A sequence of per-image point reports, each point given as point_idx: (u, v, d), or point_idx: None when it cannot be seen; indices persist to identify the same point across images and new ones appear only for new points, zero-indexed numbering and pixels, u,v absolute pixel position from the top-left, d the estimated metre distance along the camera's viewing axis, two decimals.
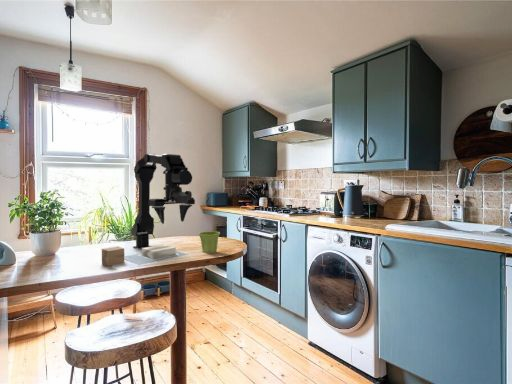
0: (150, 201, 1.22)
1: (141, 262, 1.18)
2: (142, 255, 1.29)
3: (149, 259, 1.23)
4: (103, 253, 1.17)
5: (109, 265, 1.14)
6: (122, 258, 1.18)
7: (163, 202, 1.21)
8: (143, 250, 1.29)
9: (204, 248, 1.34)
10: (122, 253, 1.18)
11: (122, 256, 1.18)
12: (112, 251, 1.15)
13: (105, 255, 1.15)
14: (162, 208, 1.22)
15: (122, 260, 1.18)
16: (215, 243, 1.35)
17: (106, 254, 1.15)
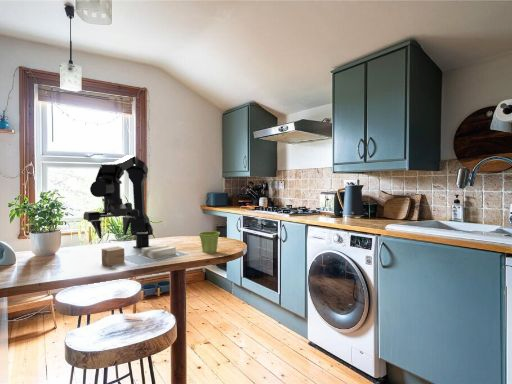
0: (85, 214, 1.12)
1: (141, 262, 1.18)
2: (142, 255, 1.29)
3: (149, 259, 1.23)
4: (103, 253, 1.17)
5: (109, 265, 1.14)
6: (122, 258, 1.18)
7: (98, 215, 1.11)
8: (143, 250, 1.29)
9: (204, 248, 1.34)
10: (122, 253, 1.18)
11: (122, 256, 1.18)
12: (112, 251, 1.15)
13: (105, 255, 1.15)
14: (98, 222, 1.12)
15: (122, 260, 1.18)
16: (215, 243, 1.35)
17: (106, 254, 1.15)
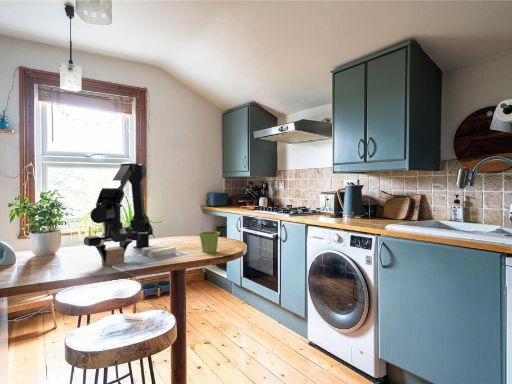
0: (85, 239, 1.12)
1: (141, 262, 1.18)
2: (142, 255, 1.29)
3: (149, 259, 1.23)
4: None
5: (109, 265, 1.14)
6: (122, 258, 1.18)
7: (99, 241, 1.12)
8: (143, 250, 1.29)
9: (204, 248, 1.34)
10: (122, 252, 1.18)
11: (122, 256, 1.18)
12: (112, 251, 1.15)
13: (105, 254, 1.15)
14: (102, 246, 1.13)
15: (122, 260, 1.18)
16: (215, 243, 1.35)
17: (106, 254, 1.15)
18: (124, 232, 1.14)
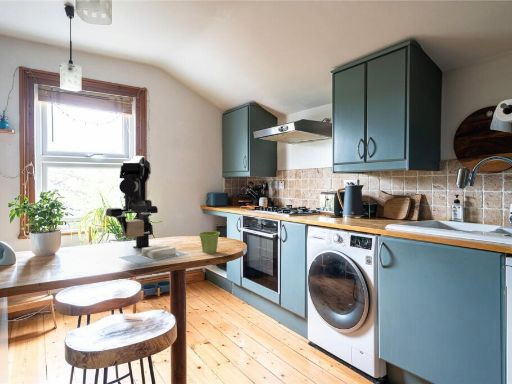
0: (107, 211, 1.17)
1: (141, 262, 1.18)
2: (142, 255, 1.29)
3: (149, 259, 1.23)
4: None
5: (130, 235, 1.19)
6: (142, 230, 1.23)
7: (120, 212, 1.17)
8: (143, 250, 1.29)
9: (204, 248, 1.34)
10: (141, 224, 1.23)
11: (142, 228, 1.23)
12: (133, 222, 1.20)
13: (126, 226, 1.20)
14: (123, 218, 1.18)
15: (142, 231, 1.23)
16: (215, 243, 1.35)
17: (127, 225, 1.20)
18: (144, 204, 1.18)
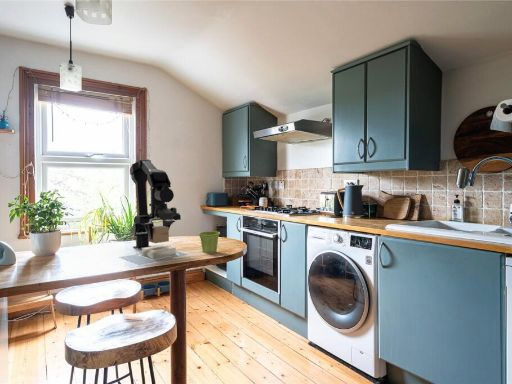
0: (135, 218, 1.24)
1: (141, 262, 1.18)
2: (142, 255, 1.29)
3: (149, 259, 1.23)
4: None
5: (156, 241, 1.26)
6: (167, 236, 1.30)
7: (148, 219, 1.23)
8: (143, 250, 1.29)
9: (204, 248, 1.34)
10: (166, 231, 1.30)
11: (167, 234, 1.30)
12: (159, 229, 1.27)
13: (153, 232, 1.27)
14: (150, 225, 1.25)
15: (167, 237, 1.30)
16: (215, 243, 1.35)
17: (153, 231, 1.27)
18: (170, 212, 1.25)
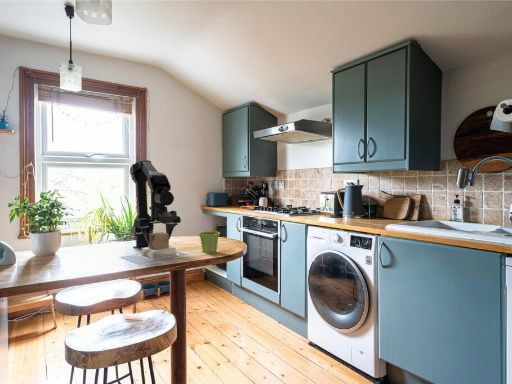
0: (135, 221, 1.24)
1: (141, 262, 1.18)
2: (142, 255, 1.29)
3: (149, 259, 1.23)
4: (150, 237, 1.29)
5: (156, 248, 1.26)
6: (167, 242, 1.30)
7: (148, 222, 1.23)
8: (143, 250, 1.29)
9: (204, 248, 1.34)
10: (166, 237, 1.30)
11: (167, 240, 1.30)
12: (159, 235, 1.27)
13: (153, 239, 1.27)
14: (147, 228, 1.24)
15: (167, 244, 1.30)
16: (215, 243, 1.35)
17: (153, 238, 1.27)
18: (170, 215, 1.25)
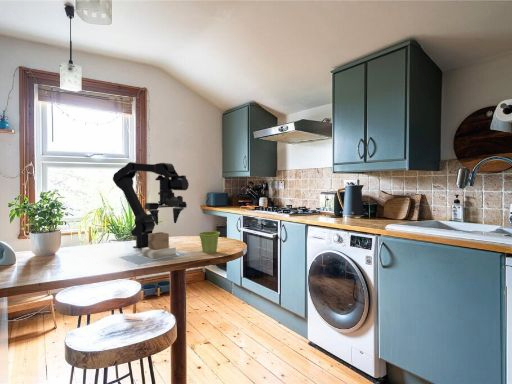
0: (145, 205, 1.37)
1: (141, 262, 1.18)
2: (142, 255, 1.29)
3: (149, 259, 1.23)
4: (150, 237, 1.29)
5: (156, 248, 1.26)
6: (167, 242, 1.30)
7: (157, 206, 1.37)
8: (143, 250, 1.29)
9: (204, 248, 1.34)
10: (166, 237, 1.30)
11: (167, 240, 1.30)
12: (159, 235, 1.27)
13: (153, 239, 1.27)
14: (156, 211, 1.37)
15: (167, 244, 1.30)
16: (215, 243, 1.35)
17: (153, 238, 1.27)
18: (177, 199, 1.38)
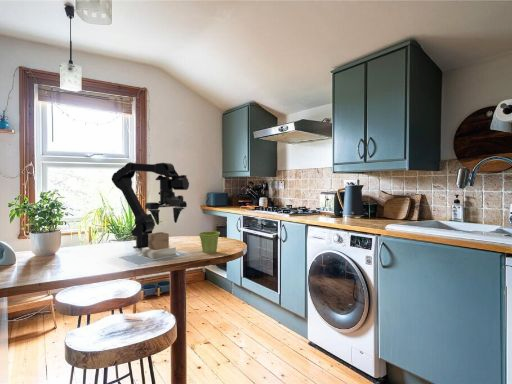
0: (146, 205, 1.38)
1: (141, 262, 1.18)
2: (142, 255, 1.29)
3: (149, 259, 1.23)
4: (150, 237, 1.29)
5: (156, 248, 1.26)
6: (167, 242, 1.30)
7: (158, 205, 1.37)
8: (143, 250, 1.29)
9: (204, 248, 1.34)
10: (166, 237, 1.30)
11: (167, 240, 1.30)
12: (159, 235, 1.27)
13: (153, 239, 1.27)
14: (157, 211, 1.38)
15: (167, 244, 1.30)
16: (215, 243, 1.35)
17: (153, 238, 1.27)
18: (177, 199, 1.39)
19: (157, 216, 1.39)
